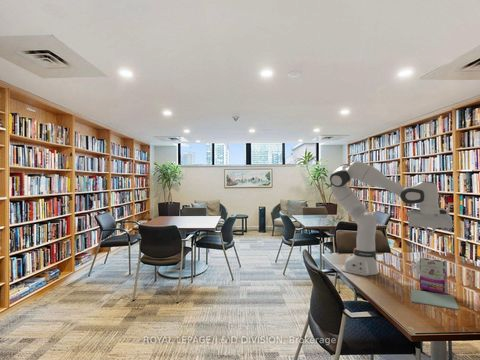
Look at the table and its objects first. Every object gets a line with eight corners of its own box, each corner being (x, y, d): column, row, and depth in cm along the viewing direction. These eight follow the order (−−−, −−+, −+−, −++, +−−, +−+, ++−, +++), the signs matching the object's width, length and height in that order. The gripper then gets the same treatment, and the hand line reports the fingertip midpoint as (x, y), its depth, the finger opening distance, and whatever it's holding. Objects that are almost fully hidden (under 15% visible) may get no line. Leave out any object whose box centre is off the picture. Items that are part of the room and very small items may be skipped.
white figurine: (410, 278, 164) (410, 258, 165) (411, 277, 168) (410, 257, 168) (429, 281, 159) (428, 260, 160) (429, 279, 163) (428, 259, 163)
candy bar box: (447, 293, 142) (447, 260, 144) (444, 294, 139) (444, 261, 140) (422, 287, 150) (422, 256, 152) (419, 288, 147) (419, 257, 149)
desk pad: (411, 301, 132) (411, 300, 132) (410, 290, 147) (410, 289, 147) (459, 310, 123) (459, 308, 123) (453, 296, 137) (453, 295, 137)
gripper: (407, 210, 155) (408, 235, 155) (452, 211, 145) (453, 237, 145) (407, 209, 161) (408, 233, 161) (451, 210, 150) (452, 235, 150)
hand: (430, 235), depth 153 cm, fingers closed
